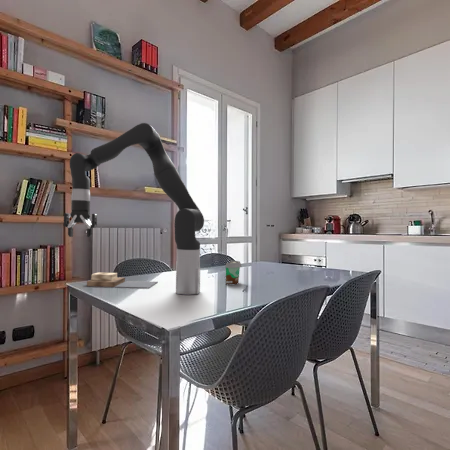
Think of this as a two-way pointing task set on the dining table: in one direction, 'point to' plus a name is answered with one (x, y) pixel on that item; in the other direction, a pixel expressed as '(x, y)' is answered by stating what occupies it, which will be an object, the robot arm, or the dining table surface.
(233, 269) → the food container
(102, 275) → the beech tile
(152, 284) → the charcoal mat
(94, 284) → the block
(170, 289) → the dining table surface
